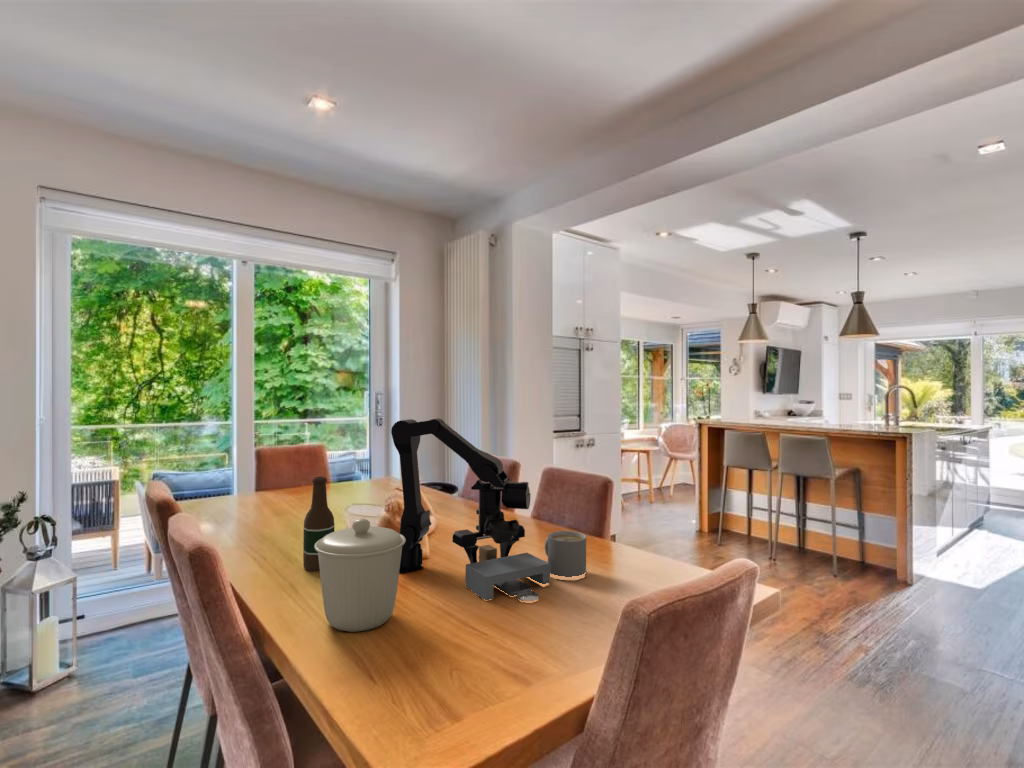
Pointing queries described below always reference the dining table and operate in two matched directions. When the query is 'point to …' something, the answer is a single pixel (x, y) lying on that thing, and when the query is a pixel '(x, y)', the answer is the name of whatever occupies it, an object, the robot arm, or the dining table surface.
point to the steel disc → (527, 596)
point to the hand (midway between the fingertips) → (489, 567)
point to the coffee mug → (566, 553)
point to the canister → (359, 575)
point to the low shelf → (504, 572)
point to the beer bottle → (316, 524)
